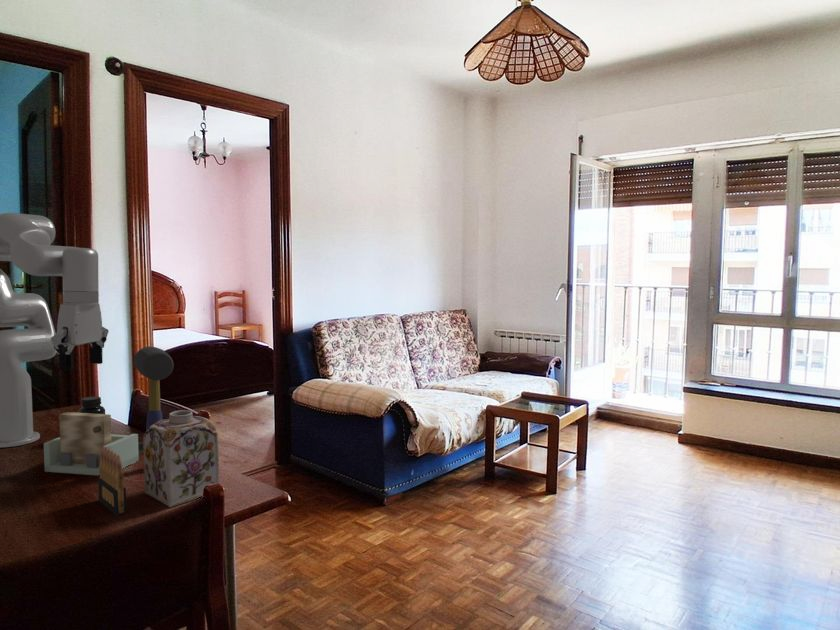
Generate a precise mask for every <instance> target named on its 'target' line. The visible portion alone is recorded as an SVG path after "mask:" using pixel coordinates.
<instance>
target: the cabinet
mask: <svg viewBox="0 0 840 630" xmlns="http://www.w3.org/2000/svg"><path fill="white" fill-rule="evenodd" d="M111 441H112V443H110V444H108V445H105V446H104V447H107V449H110V450H111V451H113V452H114V453H116V454H117V456H118V455H119V456H120V458H121V461H122V470H124V469H125V467H126V466H128V465H130V464H131V465H133V464H135V463H137V462H139V461H140V460H139V459H140V457H139V456H140V455H139V454H140V453H138V442H139V433H131V434H129V435H127V434H113V433H111ZM43 460H44V461H43V462H44V463H43V464H44V472H45V473H48V472H49V473H59V474H60V473H61V474H74V475H86V476H87V475H89V476H99V475H100V473H99V465H98V455H96V454H88V455H87V465H86V464H72V453H67V452H62V453H61V449H60V436H59V437H56V438H54V439H50V440H48V441H46V442H44V443H43ZM138 460H139V461H138ZM136 461H137V462H136ZM131 465H130V466H131ZM128 467H129V466H128ZM123 468H124V469H123ZM126 468H127V467H126Z"/></svg>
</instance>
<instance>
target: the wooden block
mask: <svg viewBox="0 0 840 630" xmlns="http://www.w3.org/2000/svg"><path fill="white" fill-rule="evenodd" d="M58 416H59V418H58V420H59V437H60V449H61V453H62V452H67V453H72V464H86V465H87V455H88V454H96V455H98V465H100V452H101V448H102V445H104V446H105V445H108V444H110V443H112V441H111V434H112V416H111V414H109V413H108V414H106V413H105V414H92V413H78V412H74V411H73V412H70V411H66V412H63V413H60V414H59V415H58Z"/></svg>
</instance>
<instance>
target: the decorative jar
mask: <svg viewBox="0 0 840 630" xmlns="http://www.w3.org/2000/svg"><path fill="white" fill-rule="evenodd" d="M193 414H194V413H193V411H191V410H185V409H184V410H181V409H180V410H174V411H172V412H169V415H168V417H169V418H165V419H163V420H160V421H157V422H156V423H154V424H153V425H152V426H150V428H149V429H148V430H147V431H145V432H144V434H142V435H143V440H142V442H143V451H144V452H143V481H144V492H145V495H147V496H150V497H151V498H153V499H155V500H156V501H158V502H161V503H162V504H164V505H165V506H167V507H169V508H173V507H175V506H179V505H181V504H184V503H185V504H186V503H187V502H191V501H194V500H195V501H196V500H197V498H198V499H200V498H199V497H201V496H202V492H203V489H204V487H205V486H207V485H209V484H215V483H219V484H220V457H219V456H220V455H219V454H220V453H219V451H220V450H219V448H220V447H219V437H218V436H219V432H218V431H217V429H216V427H215V426H214V424H213V422H212V421H211V419H209V418H206V417H203V416H198V415H193ZM201 498H202V497H201Z"/></svg>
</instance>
